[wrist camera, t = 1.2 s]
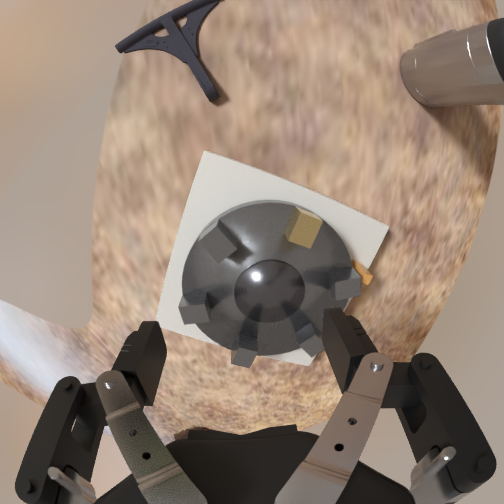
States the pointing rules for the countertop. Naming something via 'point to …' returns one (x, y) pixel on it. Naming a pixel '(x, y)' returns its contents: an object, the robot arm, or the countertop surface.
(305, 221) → the shallow round grey dish
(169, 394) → the countertop surface
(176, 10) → the bracket
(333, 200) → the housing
